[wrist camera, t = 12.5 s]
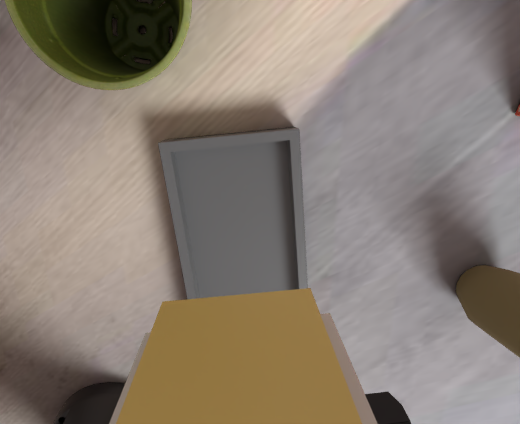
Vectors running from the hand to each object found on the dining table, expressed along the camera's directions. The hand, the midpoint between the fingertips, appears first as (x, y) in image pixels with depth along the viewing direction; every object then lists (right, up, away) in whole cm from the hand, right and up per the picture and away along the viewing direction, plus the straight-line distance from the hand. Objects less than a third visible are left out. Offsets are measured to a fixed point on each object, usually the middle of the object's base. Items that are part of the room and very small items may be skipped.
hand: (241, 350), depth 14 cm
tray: (-1, +3, +25) cm, 26 cm away
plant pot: (-10, +23, +18) cm, 32 cm away
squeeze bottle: (+29, -4, +30) cm, 42 cm away
